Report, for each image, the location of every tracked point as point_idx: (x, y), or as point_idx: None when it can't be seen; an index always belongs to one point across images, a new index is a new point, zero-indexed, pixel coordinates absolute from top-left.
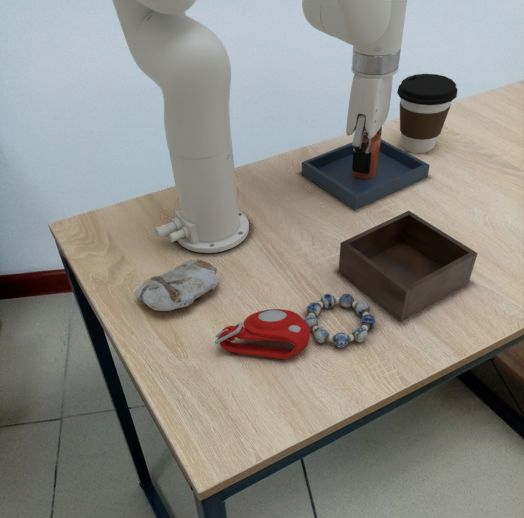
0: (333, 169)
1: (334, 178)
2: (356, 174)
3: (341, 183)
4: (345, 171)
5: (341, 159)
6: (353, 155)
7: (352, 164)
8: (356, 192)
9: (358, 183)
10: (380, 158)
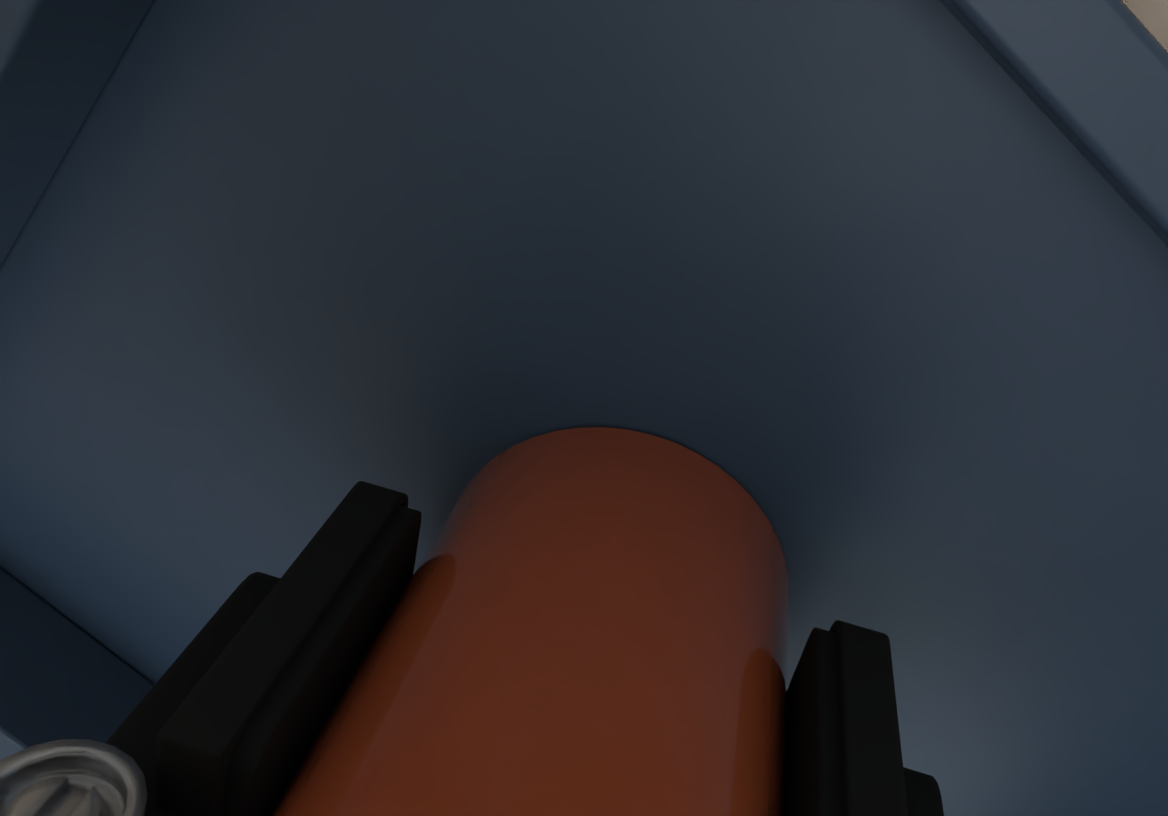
0: (649, 88)
1: (354, 148)
2: (466, 491)
3: (246, 275)
4: (612, 307)
5: (1070, 197)
6: (227, 657)
7: (318, 534)
8: (107, 480)
9: (318, 501)
10: (1077, 778)
